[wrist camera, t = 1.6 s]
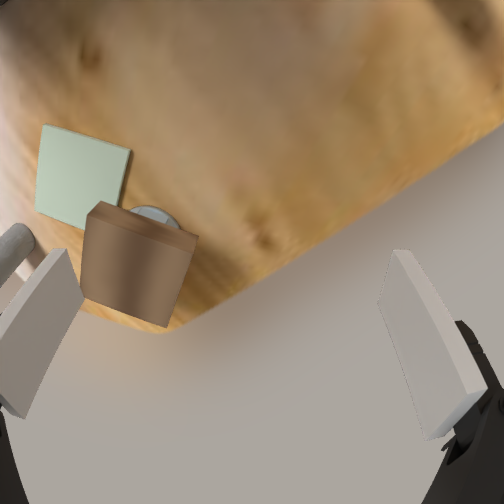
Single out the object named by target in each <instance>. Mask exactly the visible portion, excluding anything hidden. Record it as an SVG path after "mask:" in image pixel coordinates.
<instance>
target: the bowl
mask: <svg viewBox="0 0 504 504" xmlns="http://www.w3.org/2000/svg"><path fill="white" fill-rule="evenodd" d="M129 211H131V212H134V213H137V214H139V215H142V216H145V217H148V218H150V219H153V220H156V221H159V222H161V223H164V224H167V225H170V226H172V227H175V228H178V229H180V227H179V225H178V223H177V222H176V220H175V219H174V218H173V217H172V216H171V215H170V214H169V213H167V212H166V211H164V210H162V209H160V208H157V207H154V206H138V207H135V208H132V209H131V210H129Z"/></svg>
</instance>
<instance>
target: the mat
mask: <svg viewBox="0 0 504 504" xmlns="http://www.w3.org/2000/svg"><path fill="white" fill-rule="evenodd" d="M130 151H131V149H128V148H125V147H122V146H119V145H116V144H113V143H110V142H106V141H103V140H100V139H97V138H94V137H91V136H87V135H84V134H81V133H77V132H74V131H71V130H67V129H64V128H61V127H57V126H54V125H50V124H47V123H46V124H43V129H42V135H41V142H40V149H39V158H38V167H37V178H36V192H35V211H37V212H39V213H42V214H44V215H47V216H49V217H52V218H54V219H57V220H59V221H62V222H64V223H67V224H69V225H72V226H74V227H77V228H80V229H82V230H85V224H86V217H87V214H88V213H89V212H90V211H91V210H92V209H93V208H94V207H95V206H96V205H97V204H98V203H99V202H100V200H101V201H104V202H106V203H109V204H112V205H115V206H118V201H119V196H120V192H121V188H122V183H123V179H124V175H125V171H126V167H127V163H128V159H129V155H130Z"/></svg>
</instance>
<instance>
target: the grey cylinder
mask: <svg viewBox="0 0 504 504" xmlns="http://www.w3.org/2000/svg"><path fill="white" fill-rule="evenodd" d="M34 245H35V241H34V237H33V235H32V233H31V231H30V230H29V229H28V228H27V227H26V226H25V225H23V224H20V223H16V224H14V225H13V226H12V227H10V228H9V229H8V230H7V231H6V232H5V233H4V234H3V235H2V236H1V237H0V288H1V287H2V285H3V284H4V283H5V282H6V280H7V279H8V278H9V277H10V275H11V274H12V273H13V272H14V271H15V269H16V268H17V267H18V266H19V265H20V264H21V262H22V261H23V260H24V259H25V258H26V257H27V256H28V255H29V253H30V252H31V251H32V250H33V248H34Z"/></svg>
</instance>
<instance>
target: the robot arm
mask: <svg viewBox="0 0 504 504" xmlns="http://www.w3.org/2000/svg"><path fill="white" fill-rule="evenodd" d="M6 1H7V0H0V5H2V4H3V3H5V2H6ZM84 300H85V298H84V296H83V293H82V291H81V288H80V286H79V283H78V280H77V277H76V275H75V272H74V269H73V266H72V263H71V261H70V258H69V255H68V252H67V249H52V250H51V251H50V253H49V254H48V255H47V256H46V257H45V259H44V260H43V261H42V262H41V263H40V265H39V266H38V267H37V268H36V269H35V271H34V272H33V273H32V274H31V276H30V277H29V278H28V279H27V281H26V282H25V283H24V285H23V286H22V287H21V288H20V290H19V291H18V293H17V294H16V295H15V297H14V298H13V299H12V301H11V302H10V303H9V305H8V306H7V307H6V309H5V310H4V312H2V313H1V314H0V409H1V406H3V407H4V408H5V409H6V410H7V411H8V412H9V413H10V414H12V415H14V416H17V417H19V418H22V419H25V418H26V416H27V413H28V411H29V408H30V406H31V404H32V402H33V399H34V397H35V395H36V392H37V390H38V388H39V386H40V384H41V382H42V379H43V377H44V375H45V373H46V371H47V369H48V367H49V365H50V363H51V361H52V359H53V357H54V355H55V353H56V351H57V349H58V347H59V345H60V343H61V341H62V339H63V337H64V336H65V334H66V332H67V330H68V328H69V326H70V324H71V323H72V320H73V319H74V317H75V315H76V314H77V312H78V310H79V308H80V307H81V305H82V303H83V301H84ZM378 306H379V308H380V311H381V313H382V315H383V318H384V321H385V323H386V325H387V328H388V331H389V334H390V336H391V339H392V342H393V344H394V347H395V350H396V353H397V355H398V358H399V361H400V364H401V366H402V370H403V372H404V375H405V378H406V381H407V384H408V387H409V390H410V393H411V396H412V399H413V403H414V406H415V409H416V412H417V416H418V419H419V422H420V426H421V429H422V433H423V436H424V440H425V441H428V440H432V439H435V438H439V437H443V436H445V435H446V434H447V433H448V432H449V431H450V430H451V429H452V428H454V431H455V434H456V435H455V436H454V437H453V438H452V439H450V440H449V441H448V442H447V443H446V444H445V445H444V446H443V448H442V449H441V451H444V450H445V449H447V448H448V447H449V448H448V450H447V452H446V455H445V457H444V459H443V462H442V464H441V466H440V468H439V470H438V472H437V474H436V476H435V479H434V481H433V483H432V485H431V486H430V489H429V490H428V492H427V494H426V496H425V498H424V500H423V502H422V503H421V504H504V389H503V388H502V387H501V385H500V383H499V381H498V379H497V377H496V375H495V373H494V370H493V368H492V367H491V365H490V363H489V361H488V359H487V357H486V355H485V354H484V353H483V349H482V347H481V346H480V344H478V340H477V338H476V337H475V335H474V333H473V331H472V330H471V329H470V328H469V327H468V326H467V325H466V324H465V323H464V322H463V321H462V320H461V321H454V320H453V319H452V317H451V315H450V313H449V312H448V310H447V309H446V306H445V305H444V303H443V301H442V300H441V298H440V296H439V295H438V293H437V291H436V290H435V288H434V286H433V285H432V283H431V282H430V280H429V279H428V277H427V275H426V274H425V272H424V271H423V269H422V268H421V266H420V264H419V263H418V262H417V260H416V258H415V257H414V256H413V254H412V252H411V251H410V250H401V249H399V250H397V249H396V250H395V249H393V250H392V254H391V258H390V262H389V266H388V270H387V273H386V277H385V280H384V284H383V287H382V290H381V294H380V297H379V301H378ZM0 504H29V502H28V500H27V497H26V494H25V491H24V488H23V486H22V483H21V480H20V477H19V473H18V470H17V467H16V464H15V460H14V457H13V453H12V449H11V446H10V441H9V437H8V433H7V429H6V424H5V419H4V416H3V413H2V412H1V411H0Z"/></svg>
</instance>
